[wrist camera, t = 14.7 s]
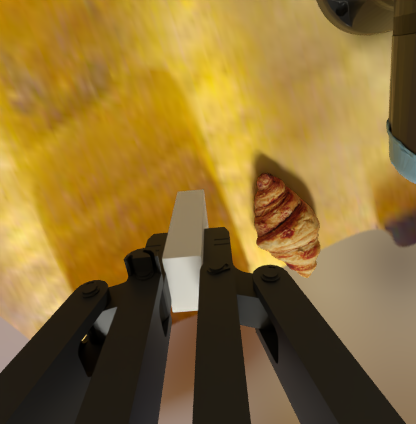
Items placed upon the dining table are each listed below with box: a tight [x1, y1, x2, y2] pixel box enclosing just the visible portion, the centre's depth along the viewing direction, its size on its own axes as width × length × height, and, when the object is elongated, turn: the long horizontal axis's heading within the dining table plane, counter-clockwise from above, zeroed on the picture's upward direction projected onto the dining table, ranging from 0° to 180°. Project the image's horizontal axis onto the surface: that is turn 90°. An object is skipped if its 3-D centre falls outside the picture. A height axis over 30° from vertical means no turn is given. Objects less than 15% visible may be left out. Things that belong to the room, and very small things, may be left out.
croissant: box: [254, 173, 320, 278], centre depth 48 cm, size 21×10×8 cm, turn 28°
